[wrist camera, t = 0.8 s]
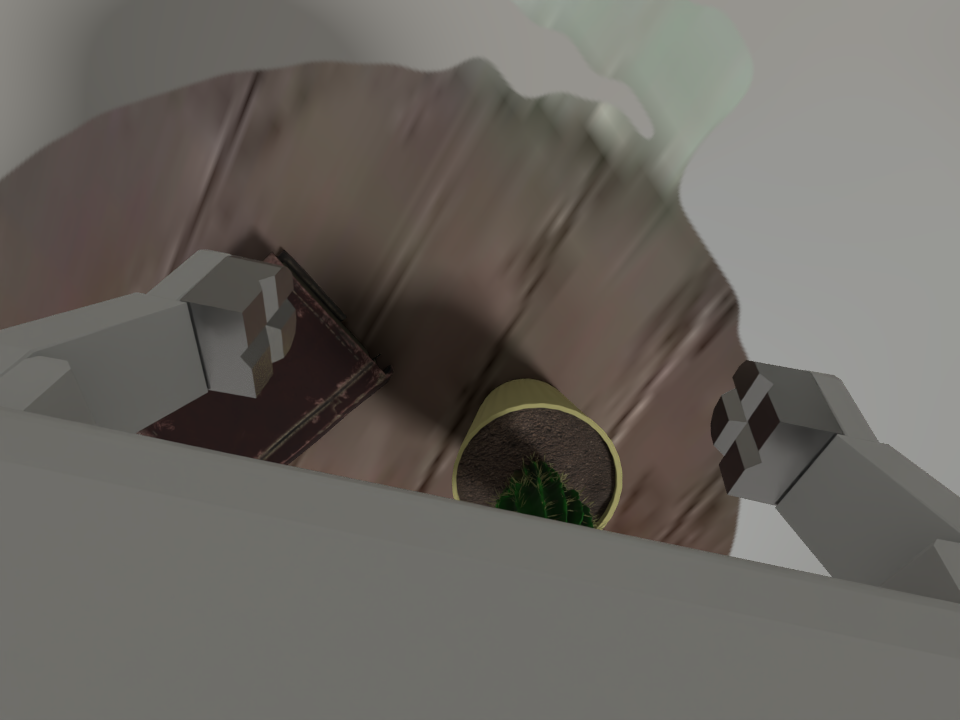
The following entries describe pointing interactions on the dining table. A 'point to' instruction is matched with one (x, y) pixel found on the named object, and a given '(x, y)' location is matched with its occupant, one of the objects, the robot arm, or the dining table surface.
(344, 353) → the diary
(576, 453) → the potted cactus
